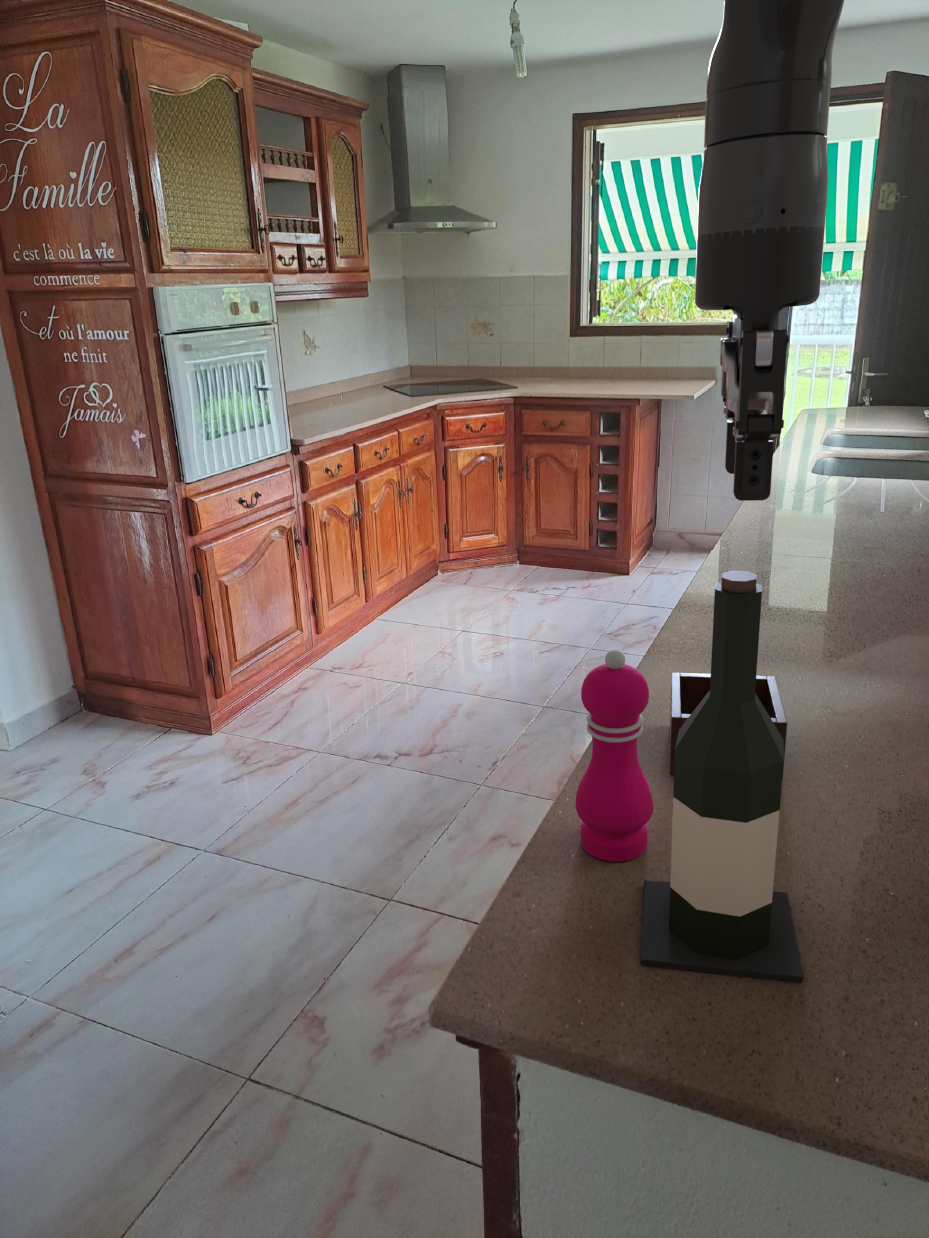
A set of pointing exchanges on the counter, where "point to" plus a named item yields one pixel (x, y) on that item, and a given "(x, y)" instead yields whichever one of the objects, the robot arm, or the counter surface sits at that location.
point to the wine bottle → (727, 792)
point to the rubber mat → (675, 954)
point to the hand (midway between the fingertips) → (745, 485)
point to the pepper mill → (614, 763)
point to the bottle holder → (696, 686)
